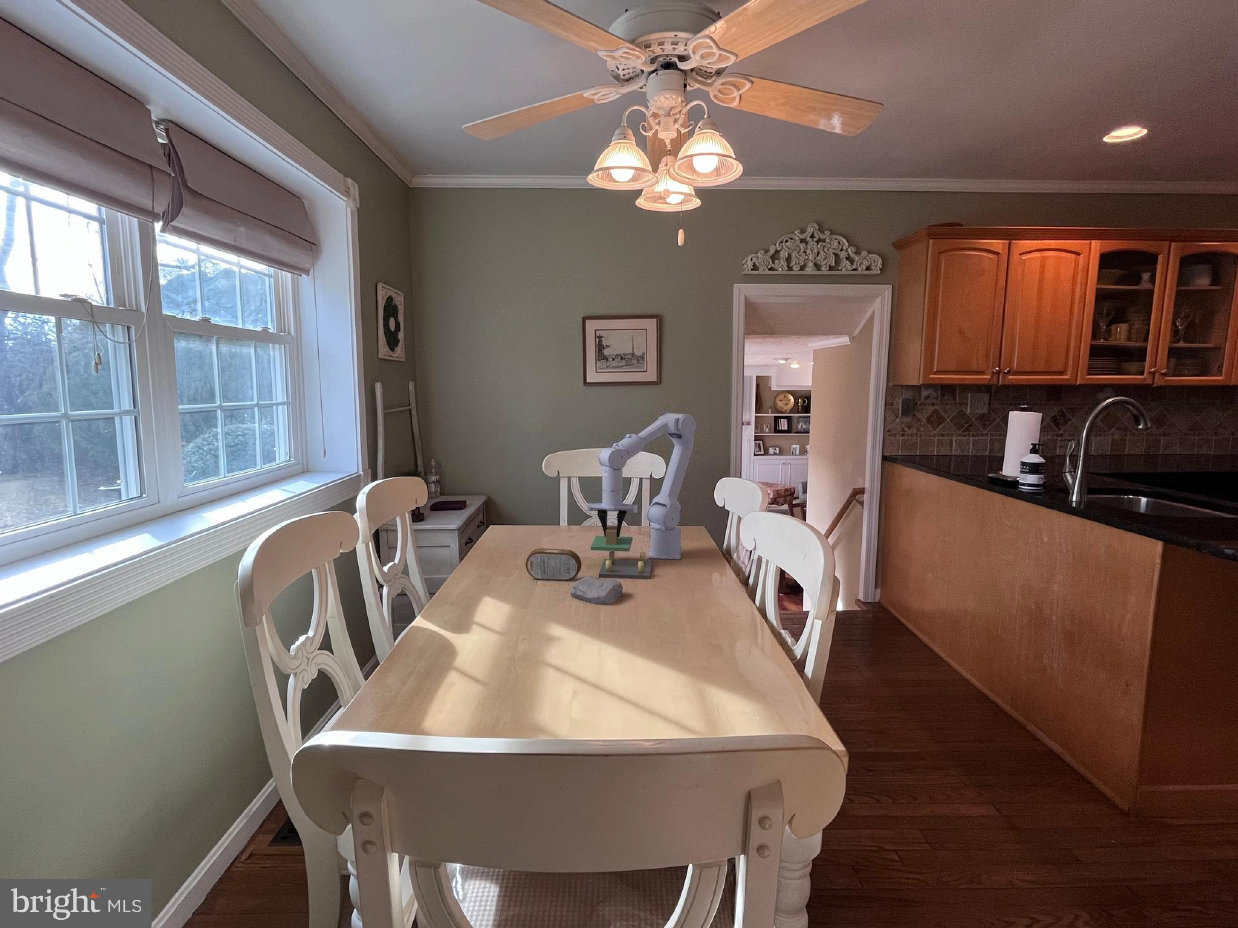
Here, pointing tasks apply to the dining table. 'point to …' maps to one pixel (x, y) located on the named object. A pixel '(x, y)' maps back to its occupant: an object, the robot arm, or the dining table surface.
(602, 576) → the chassis
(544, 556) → the tin
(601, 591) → the stone block
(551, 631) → the dining table surface
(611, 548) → the board
